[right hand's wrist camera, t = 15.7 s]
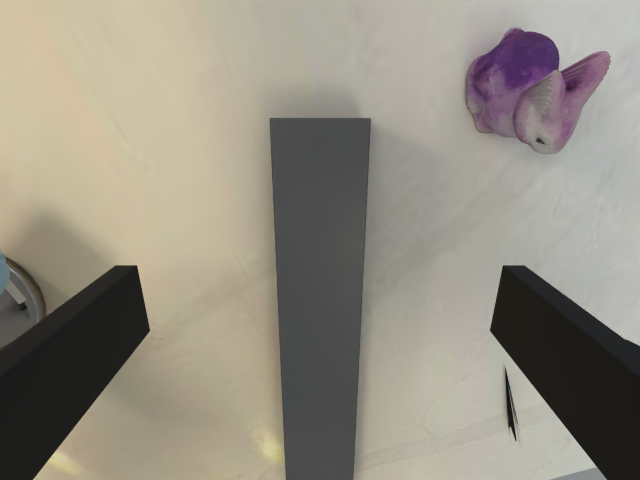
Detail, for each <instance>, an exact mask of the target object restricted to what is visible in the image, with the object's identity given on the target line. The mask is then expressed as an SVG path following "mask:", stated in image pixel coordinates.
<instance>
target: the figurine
mask: <svg viewBox="0 0 640 480" xmlns="http://www.w3.org/2000/svg"><path fill="white" fill-rule="evenodd" d="M610 62H611V61H610V55H609V53H607V52H606V51H600V52H596V53H593V54H591V55H589V56H587V57H586V58H584V59H582V60H580V61H579V62H577V63H575V64H573V65H572V66H570V67H568V68H566V69H564V70H563V71H561V72H560V71H558V68H559V53H558V49H557V47H556V45H555V44H554V42H553V41H552V40H551V39H550V38H548V37H547V36H545V35H543V34H539V33H536V32H524V31H523V30H522V29H521V28H519V27H512V28H510V29H509V30H508V31H507V32H506V33H505V35H504V37H503V39H502V40H501V42H500V44H499V45H497V46H496V47H495V48H494V49H493V50H492V51H490V52H489V53H487V54H485V55H483V56H480V57H478V58H477V59H475V60H474V61H473V62H472V64H471V66H470V67H469V70H468V73H467V79H466V100H467V107H468V108H469V110H470V112H471V114H473V117H474V120H475V125H476V128H477V130H478V131H479V132H482V133H486V132H488V133H489V132H496V133H497V134H499V135H500V136H503V137H509V138H515V137H517V138H518V139H519V140H520V141H521V142H523V143H526V144H528V145H530V146H531V147H532V148H533V149H534V150H535V151H536V152H538V153H541V154H554V153H558V152H559V151H561V150H562V148H563V147H564V146H565V144H566V143H567V142H568V140H569V139H570V137H571V136H572V134H573V132H574V130H575V127H576V125H577V122H578V119H579V117H580V113H581V110H582V107H583V106H584V104H585V103H586V101H587V100H588V98H589V97H590V96H591V95H592V94H593V92H594V91H595V90H596V88H597V87H598V85H599V83H600V82H601V81H602V80H603V78H604V76H605V75H606V73H607V70H608V69H609V65H610Z"/></svg>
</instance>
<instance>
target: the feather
mask: <svg viewBox="0 0 640 480" xmlns="http://www.w3.org/2000/svg"><path fill="white" fill-rule="evenodd" d="M505 376H506V394H507V412H508V423H509V428H510V426H511V428H512V431H513V434H514V437H515V440H516V434H515V428H514V421H513V415H512V408H511V402H510V396H511V401H513V399H512V395H511V390H510V386H509V381H508V377H507V372H506V368H505ZM509 390H510V395H509ZM512 406H514V404H513V403H512ZM513 411H515V408H513ZM514 414H515V415H516V413H514ZM515 415H514V417H515ZM516 420H517V417H516ZM516 420H515V422H516ZM516 427H517V426H516ZM518 427H519V426H518ZM518 430H519V429H518ZM519 431H520V430H519ZM509 433H510V429H509ZM517 433H518V432H517ZM518 438H519V437H518ZM519 440H520V439H519ZM521 440H522V439H521ZM510 444H511V443H510ZM519 444H520V443H519ZM520 445H521V444H520Z"/></svg>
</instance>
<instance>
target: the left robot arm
mask: <svg viewBox="0 0 640 480" xmlns="http://www.w3.org/2000/svg"><path fill="white" fill-rule="evenodd" d="M44 318H45V304H44V300H43V297H42V294H41V292H40V290H39V288H38V287H37V285H36V284H35V282H34V281H33V280H32V278H31V277H30V276H29V275H28V274H27V273H26V272H25V271H24V270H23V269H21V268H20V267H19V266H17V265H16V264H15V263H13V262H11V261H10V260H8V259H6V258H5V257H4V255H3V253H2V252H1V251H0V348H1V347H3V346H5V345H7V344H9V343H11V342H13V341H14V340H15V339H17V338H18V337H19V336H21V335H22V334H23V333H25V332H26V331H27V330H29V329H30V328H32V327H33V326H34V325H36V324H37V323H38V322H40V321H41V320H42V319H44Z"/></svg>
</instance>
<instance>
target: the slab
mask: <svg viewBox="0 0 640 480" xmlns="http://www.w3.org/2000/svg"><path fill="white" fill-rule="evenodd" d="M370 124H371V119H370V118H270V135H271V158H272V180H273V202H274V225H275V247H276V269H277V292H278V314H279V336H280V358H281V381H282V403H283V425H284V448H285V470H286V480H353V475H354V454H355V434H356V413H357V392H358V372H359V351H360V331H361V310H362V289H363V269H364V248H365V227H366V207H367V186H368V166H369V145H370Z"/></svg>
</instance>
